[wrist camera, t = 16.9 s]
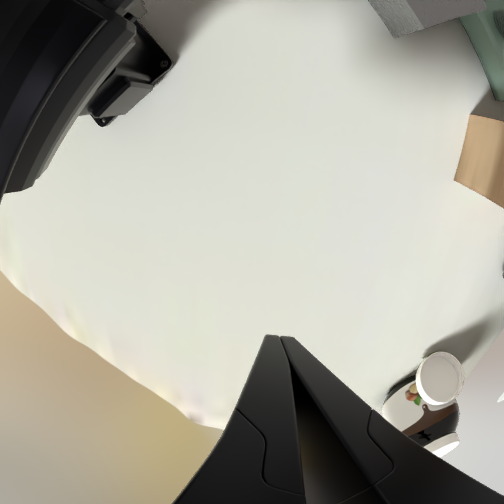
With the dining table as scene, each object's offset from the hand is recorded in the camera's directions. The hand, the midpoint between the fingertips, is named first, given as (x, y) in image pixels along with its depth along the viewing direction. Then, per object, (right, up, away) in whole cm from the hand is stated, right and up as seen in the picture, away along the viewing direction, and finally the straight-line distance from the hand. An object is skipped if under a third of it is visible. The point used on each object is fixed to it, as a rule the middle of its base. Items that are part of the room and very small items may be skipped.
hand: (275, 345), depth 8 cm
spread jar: (+21, -14, +23) cm, 35 cm away
